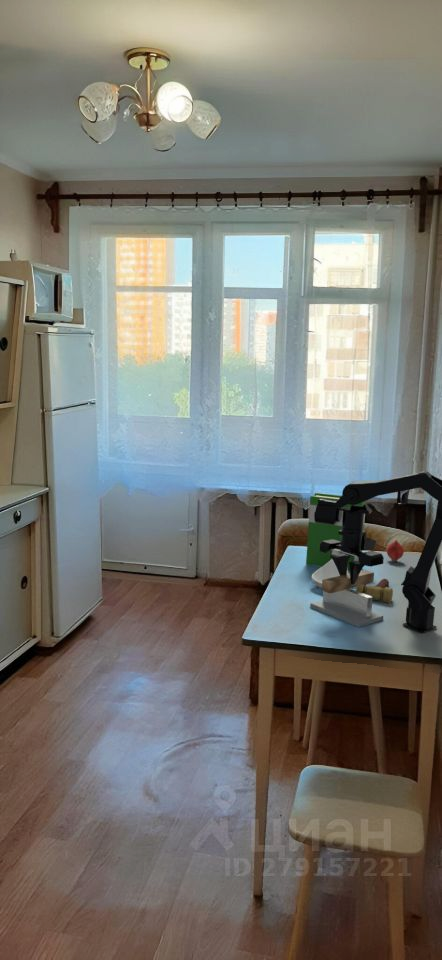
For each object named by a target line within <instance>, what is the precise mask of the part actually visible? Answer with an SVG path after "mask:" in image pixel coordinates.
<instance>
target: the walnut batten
mask: <svg viewBox="0 0 442 960" xmlns="http://www.w3.org/2000/svg"><path fill="white" fill-rule="evenodd" d="M374 577H375V572H374V571H371V570H367V569H364V570H361V572H360V574H359V576H358V578H357V580H356V582H355V584H351V580H350V573H349V574H345V575H341V576H337V577H332V578H328V579H324V580H322V589H321V591H322V592H323V591H324V592H327V593H334V592H338V591H342V590H346V589H354V588H357V587H358V586H362V585H369V584H373V583H374V579H375V578H374Z"/></svg>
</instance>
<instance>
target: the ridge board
mask: <svg viewBox="0 0 442 960" xmlns="http://www.w3.org/2000/svg"><path fill="white" fill-rule="evenodd" d="M309 607H310V608H311V609H314V610H315V611H318V612H321V613H323V614H326V615H328V616H331V617H334V618H336V619H338V620H341V621H343V622H346V623H348V624H350V625H353V626H355V627H357V628H360V627H361V628H362V627H364V626H368V625H370V624H373V623H377V622H380V621H383V620H384V615H383V614H380V613H377V612H376V611H372V612H371V618H367V619H366V618H363V617H360V616H358V615H355V614H353V613H350V612H348V611H345V610H343V609H340V608H338V607H335V606H333V605H330V604H327V603H325V602H323V599H321V600H317V601H315V602H310V605H309Z"/></svg>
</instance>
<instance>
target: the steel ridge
mask: <svg viewBox="0 0 442 960" xmlns="http://www.w3.org/2000/svg"><path fill="white" fill-rule="evenodd" d="M322 593H323V594H322V600H323V602H325V603H327V604H330V605H333V606H335V607H338V608H340V609H343V610H345V611H348V612H350V613H353V614H355V615H358V616H360V617H363V618H366V619H367V618H371V612H373V611H372V610H373V601H374V600H373V597H372V596H369V595H366V594H363V593H361V592H358V591H356V590H355V589H353V588H350V589H346V590H342V591H338V592H334V593H327V592H324V591H322Z"/></svg>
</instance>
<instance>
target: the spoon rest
mask: <svg viewBox="0 0 442 960" xmlns="http://www.w3.org/2000/svg"><path fill="white" fill-rule="evenodd" d="M347 574H350V572H349V570H348V567H347ZM337 576H340V574H339V572H338V569H337V567H336V565H335V563H334V561H333V559H331V560H330V561H329V562H328V563H326V564H325V565H324V566H322V567H321V566H320V567H319V568H318V569H317V570H316V571H314V572H313V573H312V574H311V581H312V582H313V584H314V585H315V586H316V587H318V588H319V589H321V590H322V580H324V579H328V578H332V577H337Z"/></svg>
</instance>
